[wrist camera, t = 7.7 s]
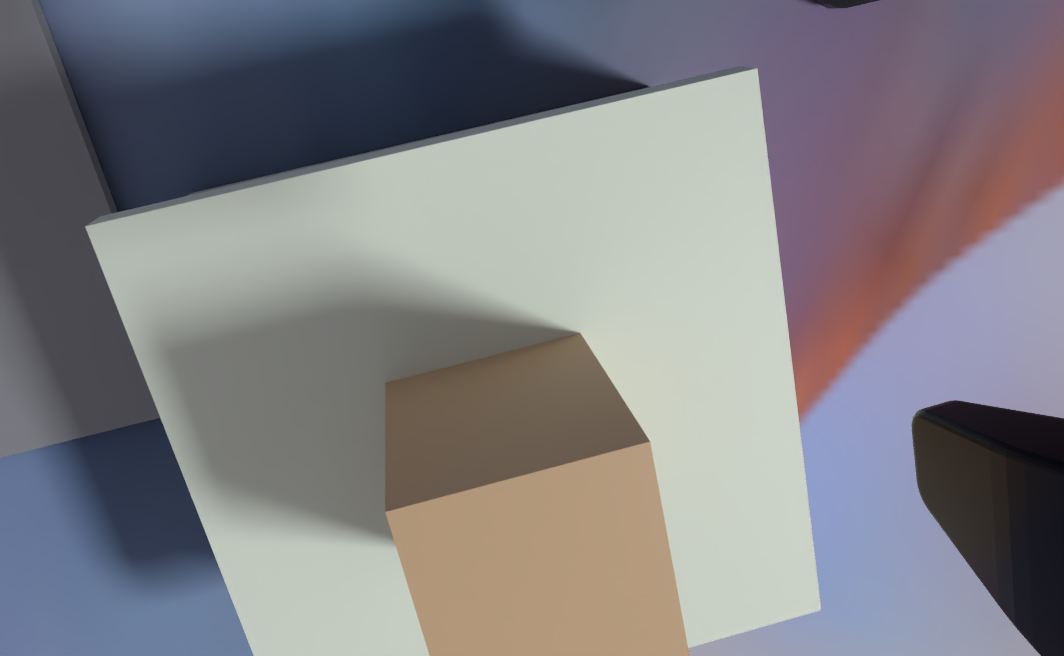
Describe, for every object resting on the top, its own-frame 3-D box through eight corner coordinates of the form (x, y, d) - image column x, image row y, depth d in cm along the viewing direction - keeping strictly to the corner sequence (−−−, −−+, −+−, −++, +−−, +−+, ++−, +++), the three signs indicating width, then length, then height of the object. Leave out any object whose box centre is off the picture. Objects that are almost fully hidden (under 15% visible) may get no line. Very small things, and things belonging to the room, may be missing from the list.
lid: (739, 66, 15) (902, 83, 11) (803, 587, 19) (947, 777, 14) (100, 216, 15) (-43, 310, 10) (298, 730, 18) (267, 985, 13)
